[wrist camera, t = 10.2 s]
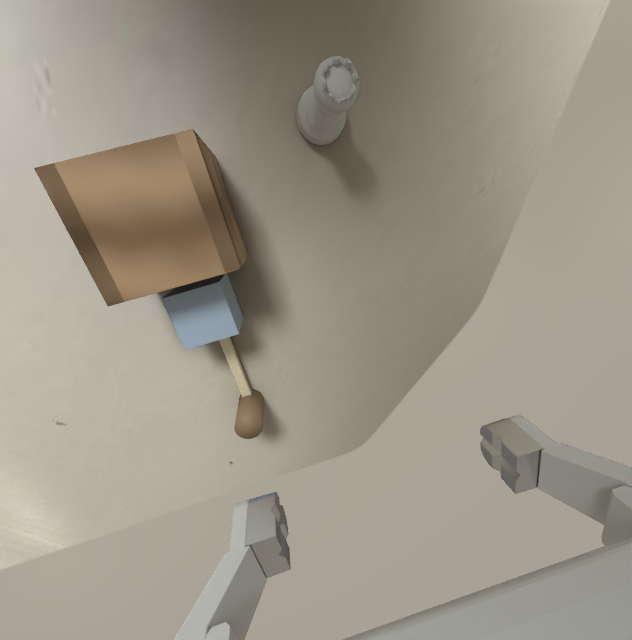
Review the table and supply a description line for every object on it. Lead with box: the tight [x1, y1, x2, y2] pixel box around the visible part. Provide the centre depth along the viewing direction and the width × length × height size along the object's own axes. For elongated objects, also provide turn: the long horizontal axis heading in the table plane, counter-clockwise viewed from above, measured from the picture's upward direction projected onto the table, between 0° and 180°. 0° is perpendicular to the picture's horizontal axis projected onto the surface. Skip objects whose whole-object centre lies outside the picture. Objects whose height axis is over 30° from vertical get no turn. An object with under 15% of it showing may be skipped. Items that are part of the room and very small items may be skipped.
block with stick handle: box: [161, 273, 263, 439], centre depth 30 cm, size 16×5×5 cm, turn 14°
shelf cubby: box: [34, 129, 248, 306], centre depth 24 cm, size 9×10×8 cm
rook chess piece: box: [296, 55, 360, 145], centre depth 23 cm, size 4×4×8 cm
